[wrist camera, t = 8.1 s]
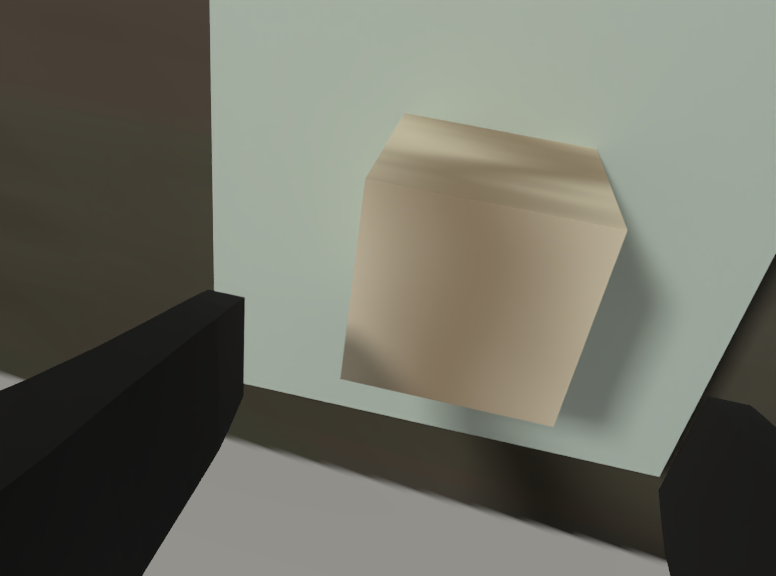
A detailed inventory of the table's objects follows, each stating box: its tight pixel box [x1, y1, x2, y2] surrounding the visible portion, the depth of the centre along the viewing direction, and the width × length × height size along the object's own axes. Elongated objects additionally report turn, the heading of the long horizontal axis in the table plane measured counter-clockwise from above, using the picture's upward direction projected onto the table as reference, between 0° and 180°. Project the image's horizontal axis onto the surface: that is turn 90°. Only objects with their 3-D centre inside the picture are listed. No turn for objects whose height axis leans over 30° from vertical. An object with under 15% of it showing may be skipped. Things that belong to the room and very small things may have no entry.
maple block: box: [340, 113, 628, 427], centre depth 14 cm, size 4×4×4 cm
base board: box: [210, 0, 776, 477], centre depth 17 cm, size 14×14×2 cm
